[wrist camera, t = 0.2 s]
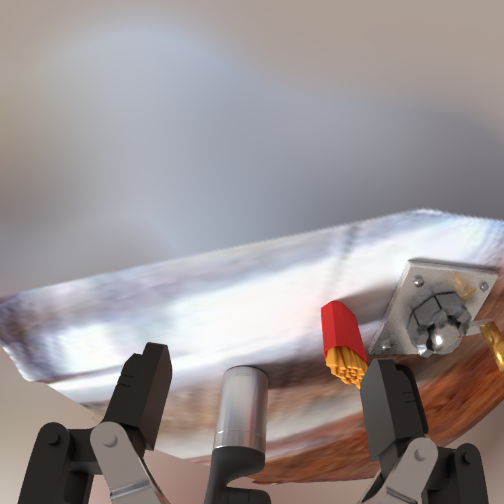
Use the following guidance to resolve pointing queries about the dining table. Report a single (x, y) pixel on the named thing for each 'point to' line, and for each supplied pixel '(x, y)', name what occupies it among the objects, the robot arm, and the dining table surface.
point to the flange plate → (419, 292)
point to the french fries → (343, 343)
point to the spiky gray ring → (453, 305)
